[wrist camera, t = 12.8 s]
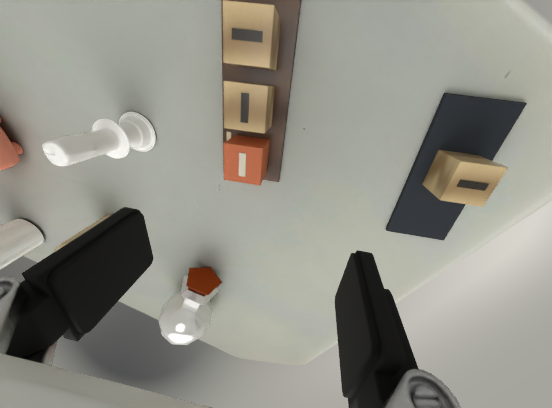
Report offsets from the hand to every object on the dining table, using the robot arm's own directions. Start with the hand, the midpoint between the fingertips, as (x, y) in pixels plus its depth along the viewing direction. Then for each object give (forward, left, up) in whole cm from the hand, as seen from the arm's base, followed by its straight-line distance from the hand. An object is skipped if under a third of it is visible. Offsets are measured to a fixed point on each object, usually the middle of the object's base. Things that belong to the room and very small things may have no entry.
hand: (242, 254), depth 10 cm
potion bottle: (+31, -14, -22) cm, 41 cm away
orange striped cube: (+2, -5, -21) cm, 22 cm away
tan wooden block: (-10, -5, -21) cm, 24 cm away
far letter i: (-4, -5, -21) cm, 22 cm away
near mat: (+1, +20, -21) cm, 29 cm away
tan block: (0, +20, -21) cm, 29 cm away
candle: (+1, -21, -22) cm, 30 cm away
